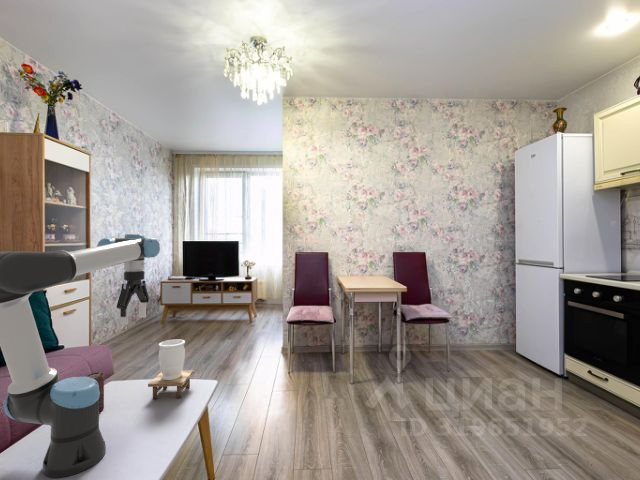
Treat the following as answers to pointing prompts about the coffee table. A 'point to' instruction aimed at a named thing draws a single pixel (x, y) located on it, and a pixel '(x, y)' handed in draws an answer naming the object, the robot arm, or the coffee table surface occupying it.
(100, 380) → the can
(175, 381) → the stool
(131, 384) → the coffee table surface
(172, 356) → the jar
